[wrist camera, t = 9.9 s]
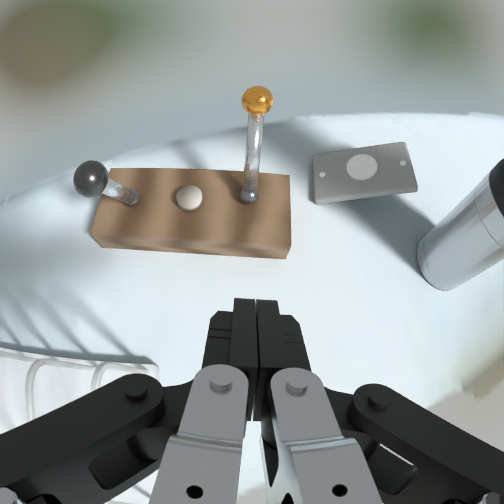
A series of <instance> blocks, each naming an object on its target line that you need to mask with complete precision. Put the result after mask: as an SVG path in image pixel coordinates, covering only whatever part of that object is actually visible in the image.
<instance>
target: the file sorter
mask: <svg viewBox="0 0 504 504" xmlns="http://www.w3.org/2000/svg"><path fill="white" fill-rule="evenodd" d="M132 373H141V374H146V375H149V376H152V377H154V378H155V379H157V380H158V381H159V367H158V365H155V364H138V363H119V362H105V361H93V360H82V359H73V358H64V357H56V356H49V355H42V354H35V353H29V352H23V351H17V350H12V349H6V348H1V347H0V434H2V433H4V432H7V431H9V430H11V429H13V428H16V427H18V426H20V425H22V424H25V423H27V422H29V421H31V420H33V419H36V418H38V417H40V416H42V415H44V414H46V413H49V412H51V411H53V410H55V409H57V408H59V407H61V406H63V405H65V404H68V403H70V402H72V401H74V400H76V399H78V398H80V397H82V396H84V395H86V394H88V393H90V392H92V391H94V390H96V389H98V388H100V387H102V386H104V385H106V384H108V383H110V382H112V381H114V380H116V379H118V378H120V377H122V376H124V375H127V374H132ZM158 471H159V469H158V470H156V471H155V472H154V473H152V474H151V475H149V476H148V477H146V478H145V479H143V480H142V481H140V482H138V483H137V484H135V485H134V486H132V487H131V488H129V489H128V490H126V491H124V492H123V493H121V494H120V495H118V496H116V497H115V498H113V499H111V500H114V501H120V502H125V503H131V504H148V503H149V500H150V497H151V494H152V490H153V487H154V484H155V480H156V477H157V474H158ZM104 504H110V503H109V501H108V502H106V503H104Z"/></svg>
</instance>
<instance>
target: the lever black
mask: <svg viewBox="0 0 504 504" xmlns="http://www.w3.org/2000/svg"><path fill="white" fill-rule="evenodd" d="M73 182H74V186H75V189H76V190H77V192H78V193H79V194H81V195H82V196H84V197H95V196H97V195H99V194H101V193H102V194H105V195H108V196H110V197H113V198H115V199H118V200H120V201H123V202H124V203H125V204H126V205H127V206H129V207H135V206H137V205H138V204H139V203H140V201H141V195H140V193H139V191H138V190H136V189H129V188H127V187H125V186H123V185H121V184H119V183H117V182H116V181H114V180H112V179H110V178H108V173H107V170H106V168H105V167H104V165H102V164H101V163H100V162H97V161H86V162H84V163H82V164H81V165H80V166H79V167H78V168H77V170H76V171H75V174H74V179H73Z"/></svg>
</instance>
